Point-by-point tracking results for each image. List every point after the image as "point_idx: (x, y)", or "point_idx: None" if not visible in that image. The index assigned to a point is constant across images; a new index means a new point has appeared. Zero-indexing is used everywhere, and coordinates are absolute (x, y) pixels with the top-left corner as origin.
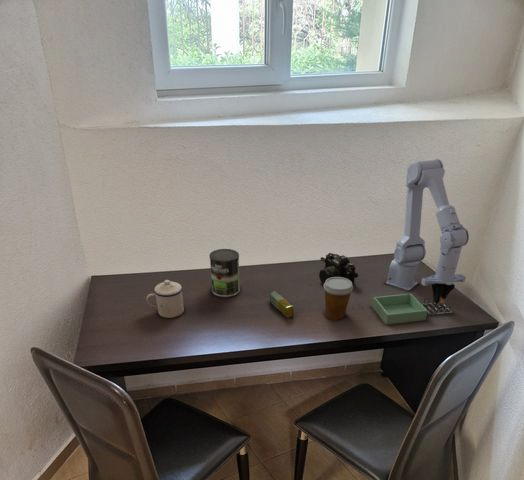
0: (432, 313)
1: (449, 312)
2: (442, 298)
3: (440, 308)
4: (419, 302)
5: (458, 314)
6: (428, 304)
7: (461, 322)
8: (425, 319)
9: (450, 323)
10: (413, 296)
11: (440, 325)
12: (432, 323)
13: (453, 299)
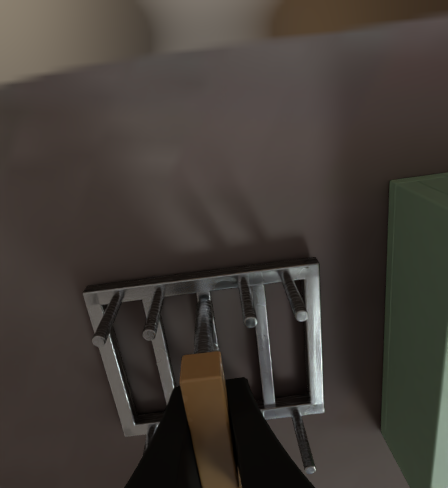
0: (291, 273)
1: (116, 289)
2: (196, 425)
3: (210, 319)
4: (446, 382)
5: (31, 274)
6: None
7: (39, 133)
8: (397, 184)
9: (160, 122)
10: (438, 476)
11: (277, 91)
12: (339, 135)
13: (15, 474)
